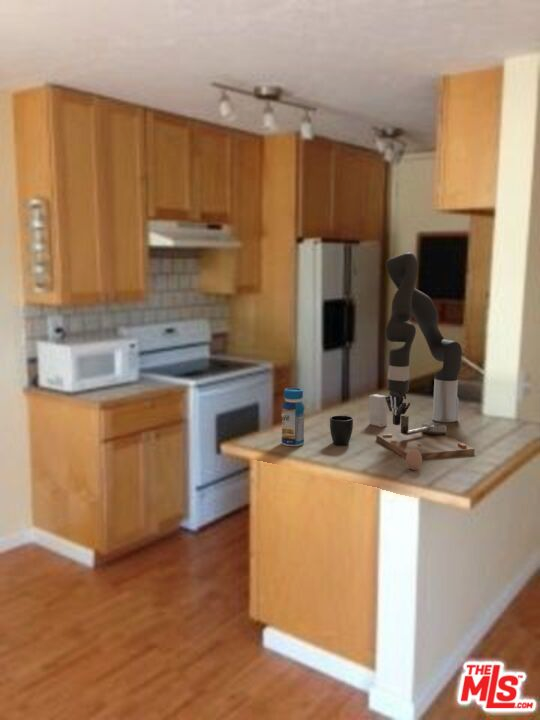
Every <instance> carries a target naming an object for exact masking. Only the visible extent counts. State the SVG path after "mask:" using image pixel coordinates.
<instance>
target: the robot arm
mask: <svg viewBox="0 0 540 720" xmlns="http://www.w3.org/2000/svg"><path fill="white" fill-rule="evenodd" d="M418 262H419V261H418V259H417V257H416V256H415V254H414V253H413V252H410V251H409V252H404V253H402V254H399V255H396V256H393V257H391V258H389V259H387V260H386V262H385V269H386V272H387V274H388V276H389V278H390V280H391V281H392V283H393V284H394V285H395V287H396V289H397V290H396V292H395V294H394V295H393V297H392V298H393V299H392V302H391V313H390V317H389V321H388V323H387V324H386V327H385V330H384V336H385V338H386V340H387V341H389V342H392V343H404V344H403V345H402V346H401V347H396V348H391V349H390V351H389V356H388V357H389V358H388V363H389V364H388V370H387V385H386V387H387V391H388V392H389V395H388V396H387V395H385V396H386V397H385V398H386V401H387V408H388V410H389V412H391V414H392V424H393V426H394V425H395V426H401V416H403V415H405V414H406V412H407V410H408V409H409V408H410V407H411V403H410V402H409V401H407V394H406V393H407V392H408V391H409V390H410V388H409V387H410V355H411V350H412V349H411V348H412V346H413V342H414V340H415V337H416V334H417V330H416V326H415V325H414V323H412V322H409V321H410V320H411V318H412V317H413V318H414V319H413V320H415V322H416V324H417V326H418V327H419V329H420V331H421V333H422V335H423V336H424V339H425V341H426V344H427V346H428V349H429V351H430V354H431V356H432V357H433V358H434V359H435V360H436V361H437V362H441V363H442V368H441V369H440V370H436V371H435V372H434V380H433V381H434V385H433V405H432V407H433V408H432V421H435V422H437V423H454V422H458V420H459V407H460V406H459V404H460V402H459V401H460V398H459V397H458V383H459V375H460V373H461V365H462V359H463V358H462V357H463V350H462V346H461V343H460V342H458V341H455V340H450V339H445V337H444V336H443V335H442V333H441V331H440V329H439V312H438V309H437V308H436V305H435V304H434V301H433V300H432V298H431V297H430V296H429V295H428V294H426V293H424V292H423V291H420V290H419V289H417V288H415V287H416V282H417V279H418V273H419V263H418Z"/></svg>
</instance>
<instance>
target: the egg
mask: <svg viewBox="0 0 540 720" xmlns="http://www.w3.org/2000/svg"><path fill="white" fill-rule="evenodd" d="M405 463H406V464H405V465H406V466H407V468H408V469H409V470H412V471H416V470H419V469H420V468H421V466H422V463H423V459H422V456H421V454H420V452H419V451H418V450H416V449H412V450H410V451H409V452H408V453H407V455H406V459H405Z"/></svg>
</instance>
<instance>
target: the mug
mask: <svg viewBox="0 0 540 720" xmlns="http://www.w3.org/2000/svg"><path fill="white" fill-rule="evenodd" d="M353 428H354V418H353V417H352V416H350V415H349V416H348V415H347V414H346V415H341V414H340V415H337V414H336V415H332V416H330V418H329V431H330V436H331V440H332V443H333V445H334V446H341V447H342V446H343V447H344V446H348V445H349V444H350V440H351V437H352V434H353Z"/></svg>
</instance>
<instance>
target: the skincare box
mask: <svg viewBox="0 0 540 720" xmlns="http://www.w3.org/2000/svg"><path fill="white" fill-rule="evenodd" d="M386 396H387V395H382V394H377V393H375V394H369V402H368V404H369V411H368V412H369V415H368V417H369V421H368V423H369V425H372V426H376V427H379V428H383V427H386V426H387V425H388V404H387V401H386V398H385V397H386Z"/></svg>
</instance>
